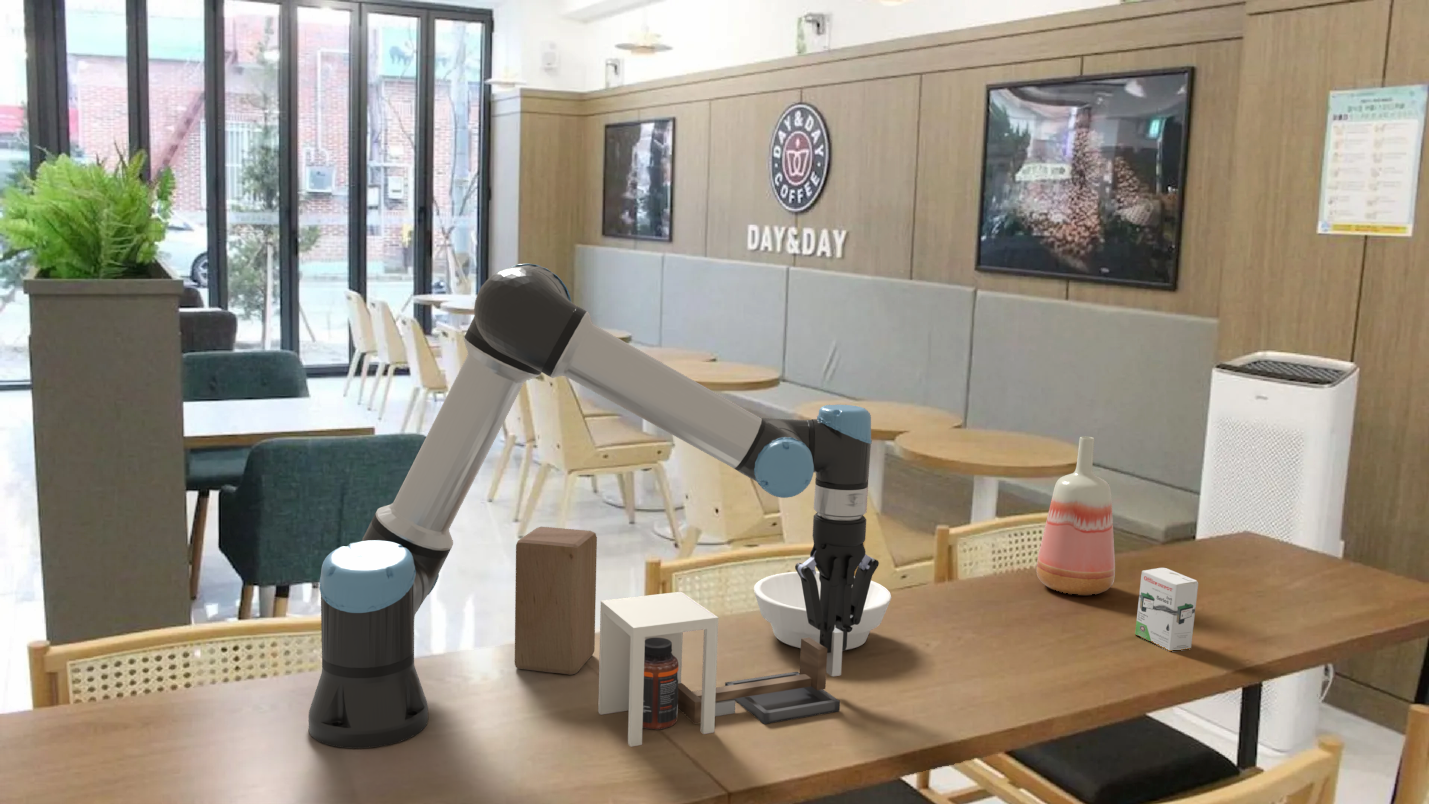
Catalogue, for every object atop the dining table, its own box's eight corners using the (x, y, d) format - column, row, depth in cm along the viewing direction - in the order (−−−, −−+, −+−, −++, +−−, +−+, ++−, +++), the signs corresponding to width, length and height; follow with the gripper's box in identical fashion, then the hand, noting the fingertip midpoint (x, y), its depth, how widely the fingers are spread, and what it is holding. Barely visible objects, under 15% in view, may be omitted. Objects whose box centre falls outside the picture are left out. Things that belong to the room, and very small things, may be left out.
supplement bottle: (684, 719, 163) (687, 639, 162) (664, 735, 158) (667, 652, 156) (646, 710, 166) (648, 631, 164) (625, 725, 161) (627, 644, 159)
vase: (1116, 585, 234) (1130, 435, 230) (1108, 605, 221) (1122, 447, 217) (1041, 574, 240) (1052, 428, 236) (1029, 593, 227) (1040, 439, 222)
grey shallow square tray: (764, 724, 163) (764, 713, 162) (724, 692, 173) (725, 682, 173) (839, 711, 168) (840, 701, 168) (796, 681, 178) (797, 671, 178)
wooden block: (576, 677, 177) (578, 546, 174) (512, 670, 179) (513, 540, 176) (596, 654, 187) (599, 529, 184) (535, 648, 188) (537, 524, 186)
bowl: (733, 650, 191) (735, 599, 190) (775, 610, 212) (777, 564, 211) (871, 672, 183) (874, 620, 182) (901, 628, 204) (903, 581, 203)
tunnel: (630, 746, 154) (633, 627, 152) (598, 712, 165) (600, 600, 162) (750, 726, 162) (755, 612, 159) (712, 694, 172) (716, 587, 170)
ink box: (1133, 635, 205) (1139, 568, 203) (1155, 632, 206) (1161, 566, 205) (1170, 652, 197) (1176, 583, 195) (1193, 649, 199) (1200, 580, 197)
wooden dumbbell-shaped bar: (694, 723, 161) (696, 670, 160) (673, 704, 167) (674, 653, 166) (828, 701, 170) (831, 650, 169) (803, 684, 176) (806, 635, 175)
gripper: (814, 523, 164) (805, 688, 168) (893, 516, 170) (883, 675, 173) (787, 511, 171) (779, 669, 174) (864, 505, 177) (855, 658, 180)
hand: (831, 672), depth 174 cm, fingers closed
